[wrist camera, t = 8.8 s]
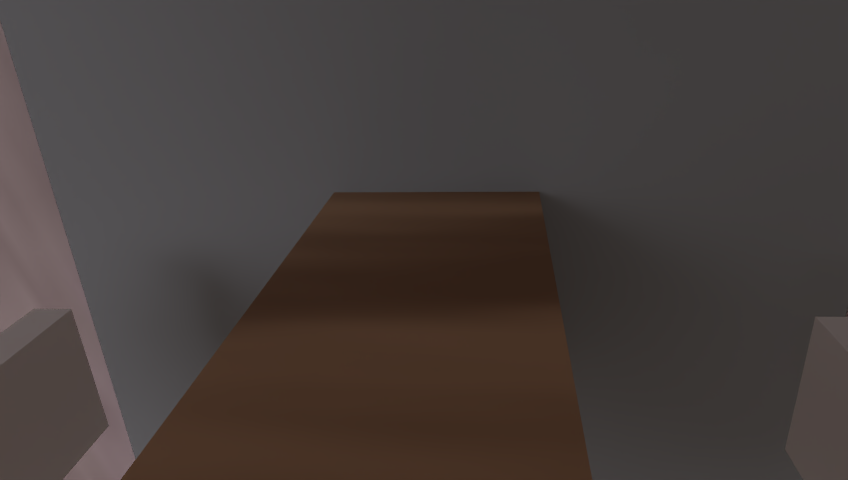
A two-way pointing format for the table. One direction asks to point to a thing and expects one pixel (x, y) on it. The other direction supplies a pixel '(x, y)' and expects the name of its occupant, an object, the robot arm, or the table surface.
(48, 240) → the table surface
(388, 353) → the post
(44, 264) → the table surface
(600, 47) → the mat
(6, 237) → the table surface
